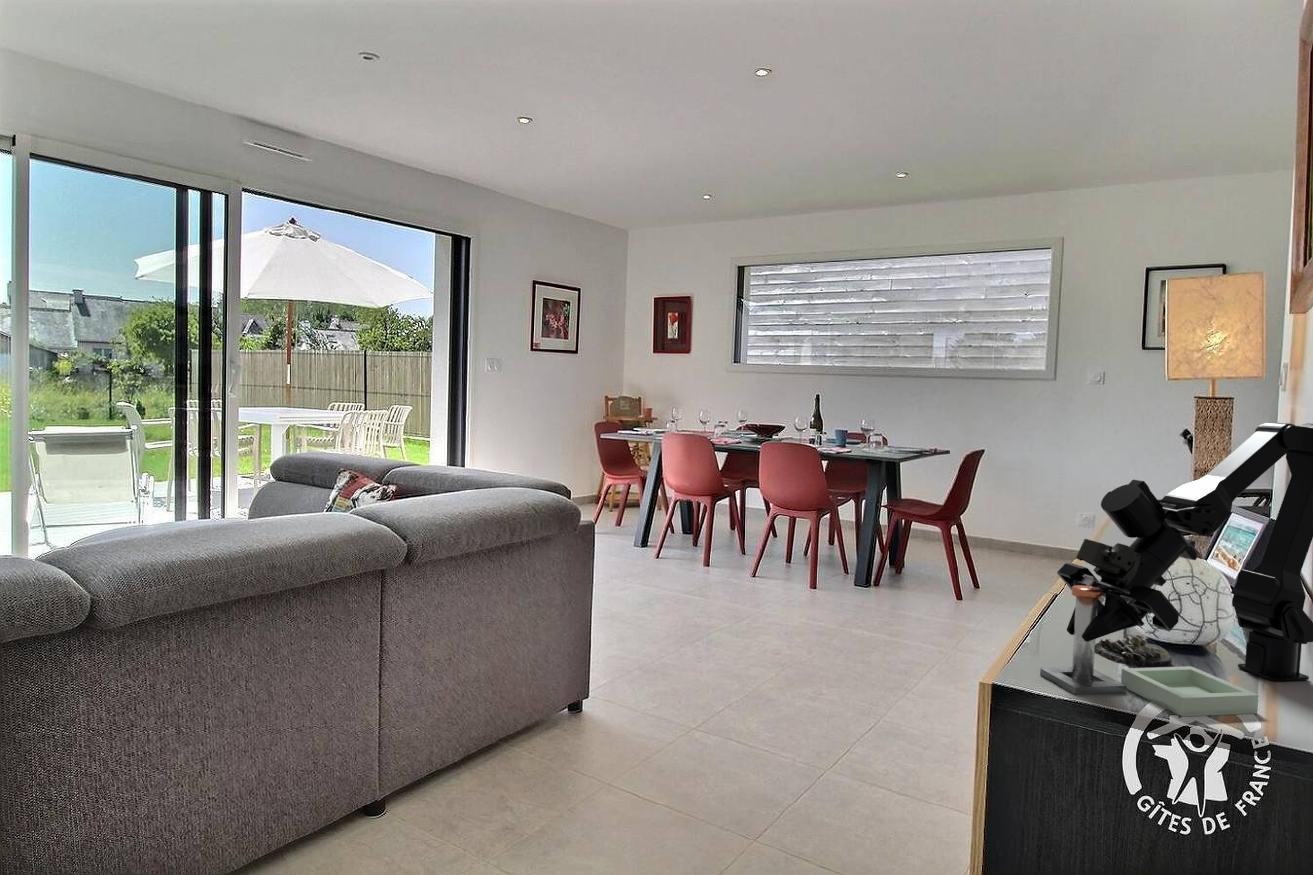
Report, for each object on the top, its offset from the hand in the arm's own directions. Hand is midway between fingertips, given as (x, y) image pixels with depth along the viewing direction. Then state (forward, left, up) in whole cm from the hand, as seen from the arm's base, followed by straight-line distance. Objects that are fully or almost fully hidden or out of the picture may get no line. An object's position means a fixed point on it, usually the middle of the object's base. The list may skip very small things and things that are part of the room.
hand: (1076, 635), depth 121 cm
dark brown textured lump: (-19, -11, -8) cm, 23 cm away
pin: (-1, 0, -7) cm, 7 cm away
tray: (-12, +7, -7) cm, 16 cm away
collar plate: (-1, 0, -7) cm, 7 cm away
